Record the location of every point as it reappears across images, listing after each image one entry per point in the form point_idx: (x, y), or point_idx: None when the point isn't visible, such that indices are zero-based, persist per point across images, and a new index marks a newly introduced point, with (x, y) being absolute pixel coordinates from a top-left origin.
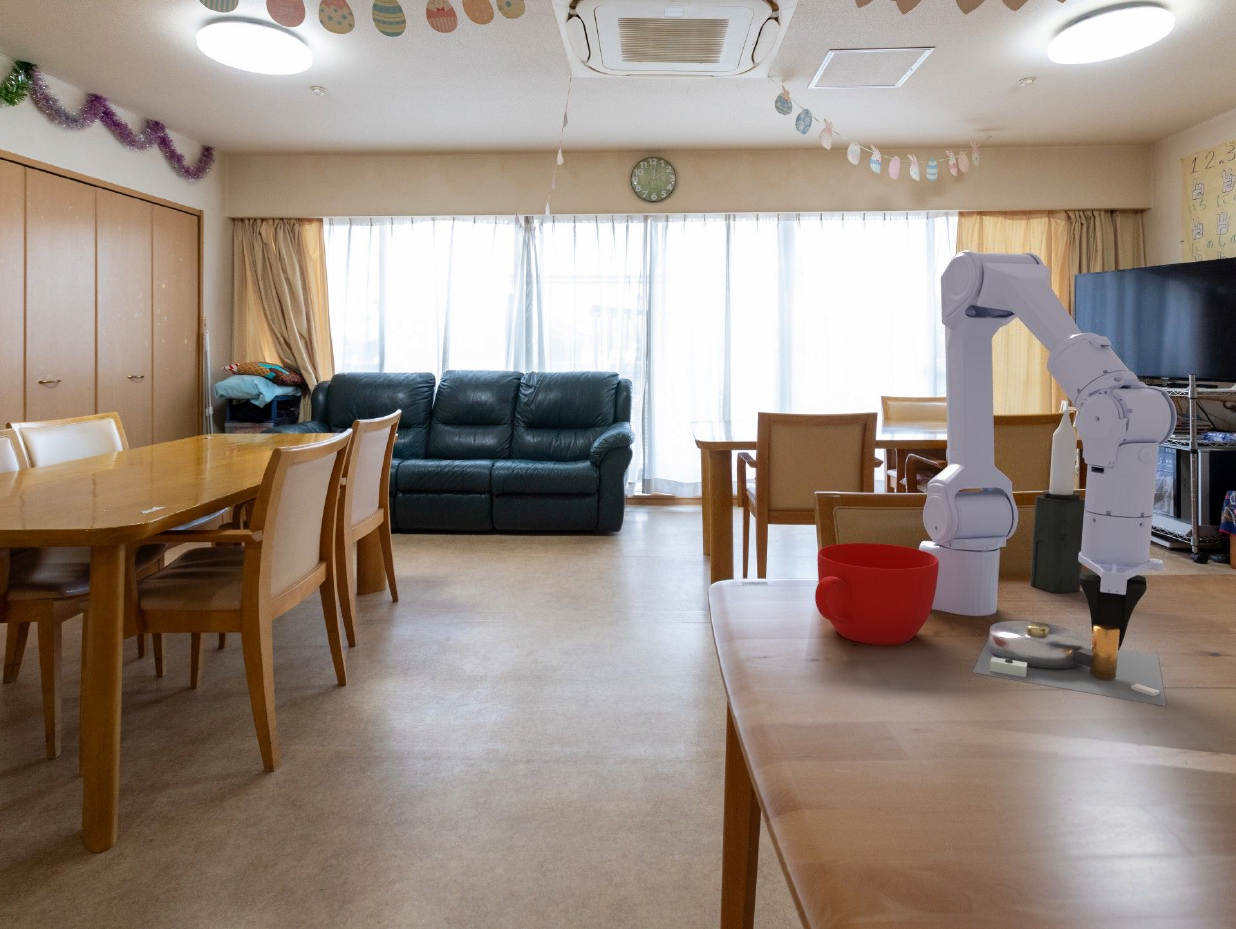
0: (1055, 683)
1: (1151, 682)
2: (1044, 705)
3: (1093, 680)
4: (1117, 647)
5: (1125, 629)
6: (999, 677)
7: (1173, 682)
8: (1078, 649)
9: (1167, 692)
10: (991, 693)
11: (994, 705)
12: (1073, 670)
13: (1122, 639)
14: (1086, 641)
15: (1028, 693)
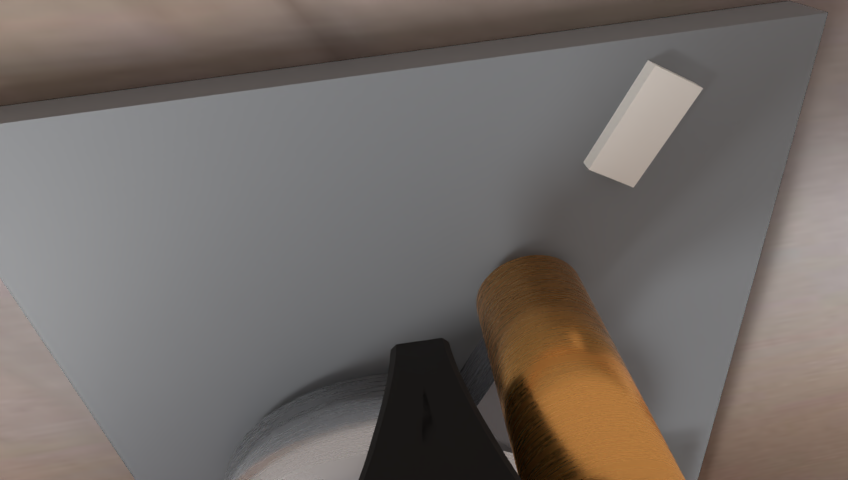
0: (686, 386)
1: (477, 113)
2: (792, 356)
3: None
4: (601, 369)
5: (489, 436)
6: None
7: (199, 6)
8: (504, 447)
9: (403, 21)
10: (737, 460)
11: (833, 435)
12: None
13: (461, 381)
14: None
15: None
